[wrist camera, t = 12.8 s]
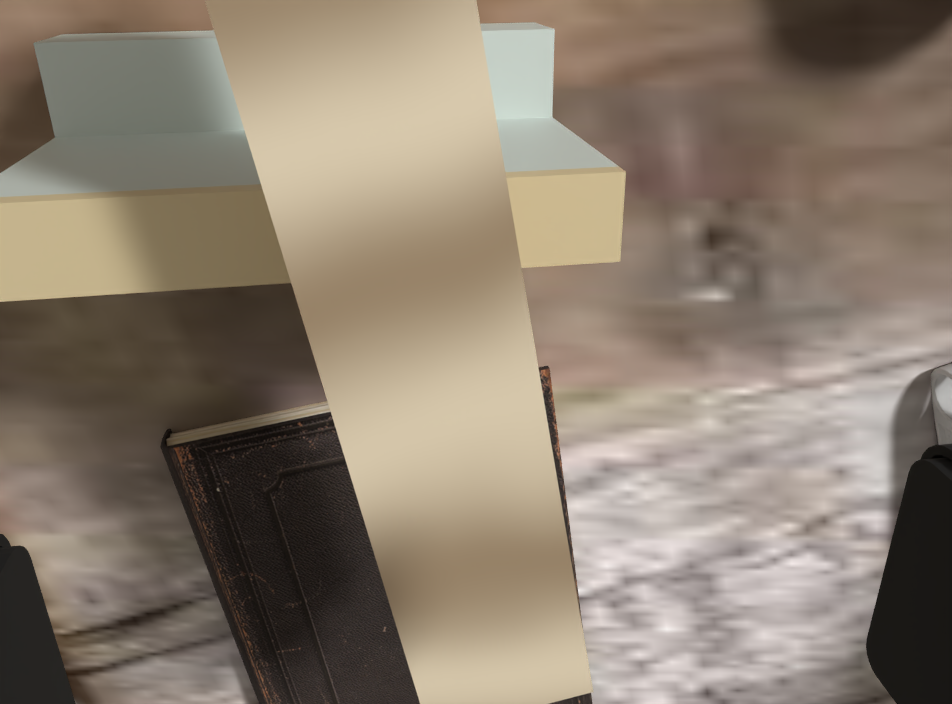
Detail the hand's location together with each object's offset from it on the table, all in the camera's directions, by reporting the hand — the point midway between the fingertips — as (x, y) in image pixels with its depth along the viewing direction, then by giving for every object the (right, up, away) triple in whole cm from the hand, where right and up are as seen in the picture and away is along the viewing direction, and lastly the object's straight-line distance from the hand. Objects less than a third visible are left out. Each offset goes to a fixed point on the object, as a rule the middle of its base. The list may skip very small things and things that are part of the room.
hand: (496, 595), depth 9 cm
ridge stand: (-6, +10, +21) cm, 25 cm away
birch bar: (-2, +6, +12) cm, 13 cm away
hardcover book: (-4, -9, +32) cm, 33 cm away
